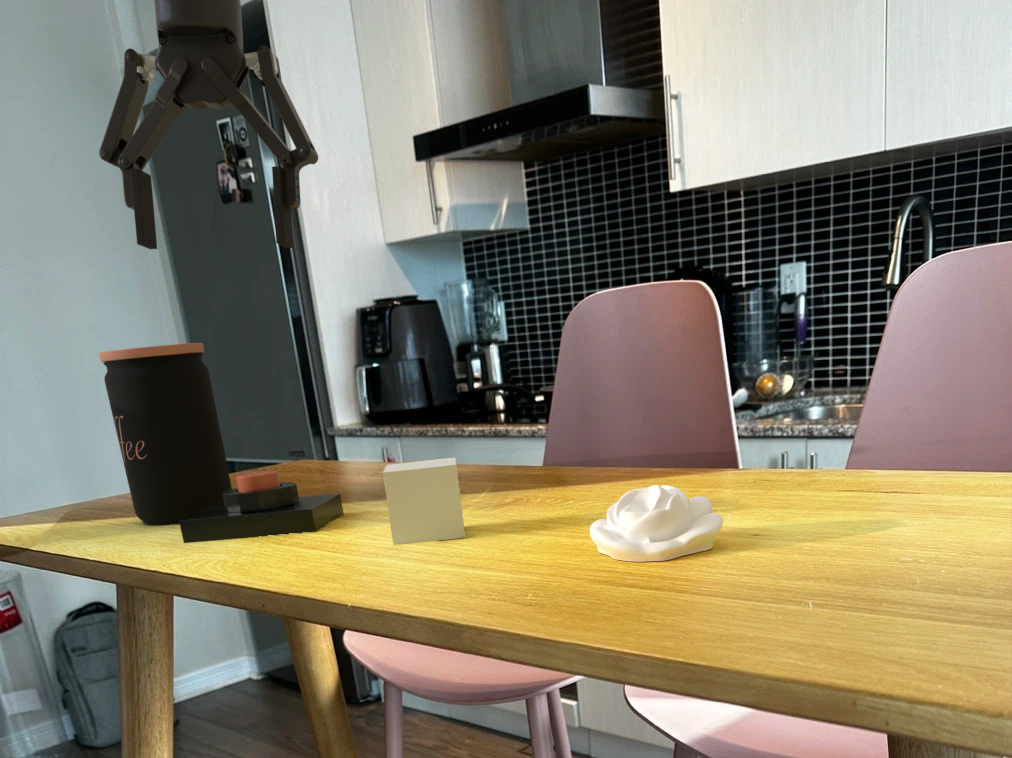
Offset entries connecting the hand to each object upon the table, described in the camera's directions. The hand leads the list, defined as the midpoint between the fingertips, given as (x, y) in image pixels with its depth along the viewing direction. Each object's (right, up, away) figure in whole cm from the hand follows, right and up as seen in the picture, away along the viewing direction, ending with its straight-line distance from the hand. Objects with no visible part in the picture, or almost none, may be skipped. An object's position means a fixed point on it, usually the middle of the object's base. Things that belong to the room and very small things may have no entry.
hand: (215, 246), depth 99 cm
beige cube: (+22, -30, -10) cm, 38 cm away
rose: (+40, -33, -25) cm, 57 cm away
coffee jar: (-8, -23, +17) cm, 30 cm away
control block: (+4, -27, +3) cm, 27 cm away
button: (+4, -23, +1) cm, 24 cm away
